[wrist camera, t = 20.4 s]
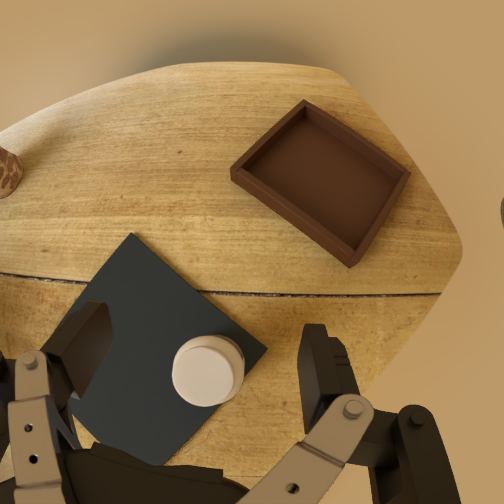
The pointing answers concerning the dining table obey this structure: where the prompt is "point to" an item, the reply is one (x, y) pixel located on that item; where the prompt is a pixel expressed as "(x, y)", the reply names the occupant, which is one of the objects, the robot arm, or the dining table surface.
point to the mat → (148, 354)
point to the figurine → (9, 172)
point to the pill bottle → (208, 370)
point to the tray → (323, 180)
